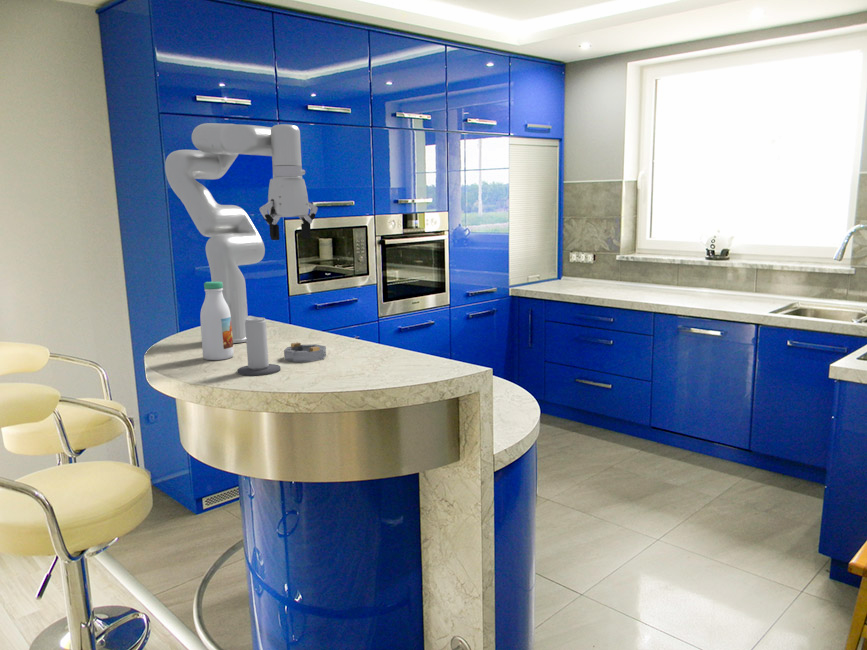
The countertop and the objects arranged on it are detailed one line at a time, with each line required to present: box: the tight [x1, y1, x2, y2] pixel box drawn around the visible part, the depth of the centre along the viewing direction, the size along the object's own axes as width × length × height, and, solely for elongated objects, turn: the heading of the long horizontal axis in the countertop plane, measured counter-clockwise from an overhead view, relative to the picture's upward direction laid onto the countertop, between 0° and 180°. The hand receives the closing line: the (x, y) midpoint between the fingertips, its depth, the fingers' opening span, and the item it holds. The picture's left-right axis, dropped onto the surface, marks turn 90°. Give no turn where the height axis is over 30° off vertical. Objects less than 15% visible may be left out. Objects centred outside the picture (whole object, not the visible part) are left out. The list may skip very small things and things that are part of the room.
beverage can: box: [245, 316, 270, 370], centre depth 163 cm, size 5×5×12 cm
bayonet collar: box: [283, 342, 327, 363], centre depth 178 cm, size 10×10×3 cm
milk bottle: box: [199, 281, 235, 361], centre depth 178 cm, size 8×8×20 cm
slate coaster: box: [236, 363, 281, 377], centre depth 164 cm, size 10×10×1 cm
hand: (291, 239), depth 183 cm, fingers open, 9 cm apart
